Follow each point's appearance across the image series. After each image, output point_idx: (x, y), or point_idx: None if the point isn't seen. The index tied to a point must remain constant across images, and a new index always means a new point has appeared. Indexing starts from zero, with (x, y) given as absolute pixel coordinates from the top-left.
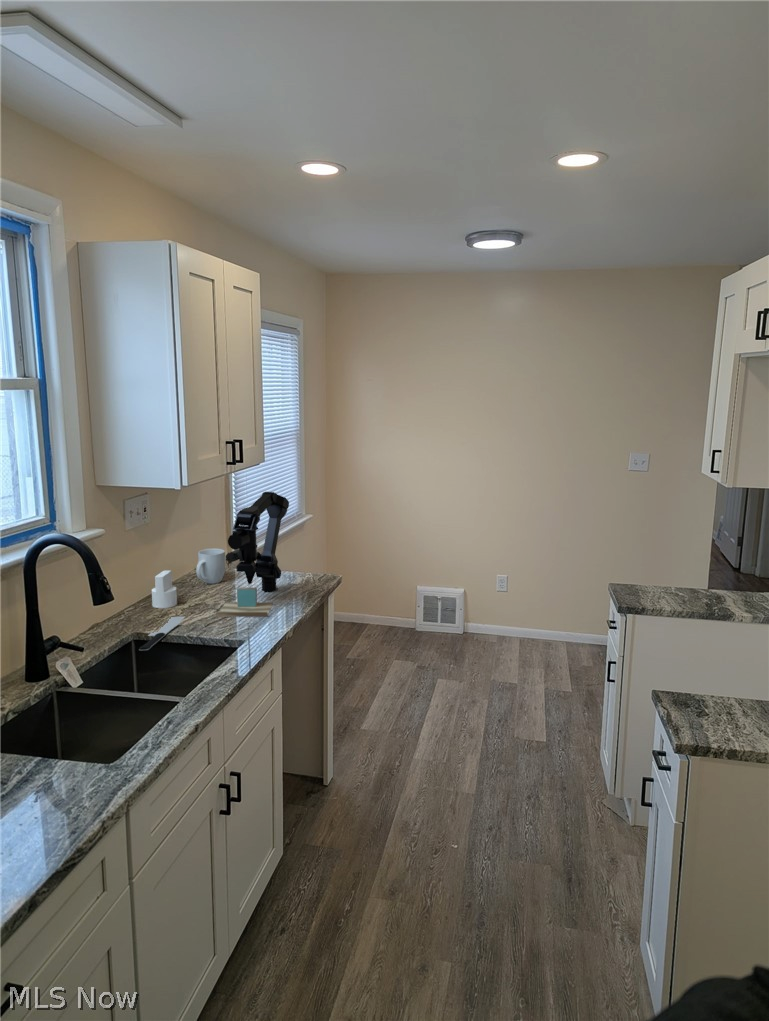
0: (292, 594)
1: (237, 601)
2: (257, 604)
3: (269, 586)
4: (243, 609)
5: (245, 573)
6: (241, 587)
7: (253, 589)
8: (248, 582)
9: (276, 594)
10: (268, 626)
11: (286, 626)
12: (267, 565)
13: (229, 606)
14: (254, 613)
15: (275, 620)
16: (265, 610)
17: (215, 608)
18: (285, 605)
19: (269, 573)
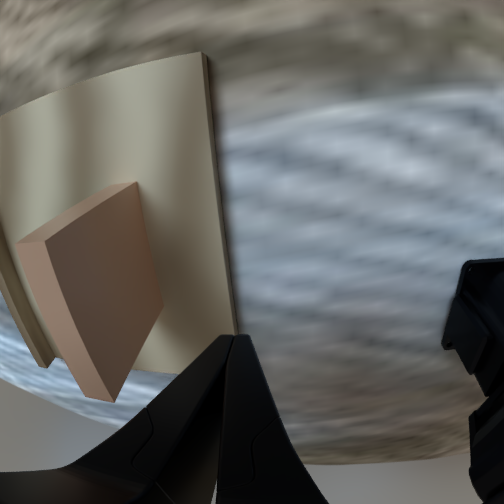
0: (415, 403)
1: (88, 198)
2: (185, 305)
3: (462, 351)
4: None
5: (105, 446)
6: (57, 282)
7: (77, 377)
8: (211, 348)
9: (437, 346)
10: (12, 349)
11: (39, 393)
12: (496, 498)
13: (106, 123)
14: (16, 319)
15: (59, 372)
16: None
17: (122, 21)
18: None
19: (477, 441)
